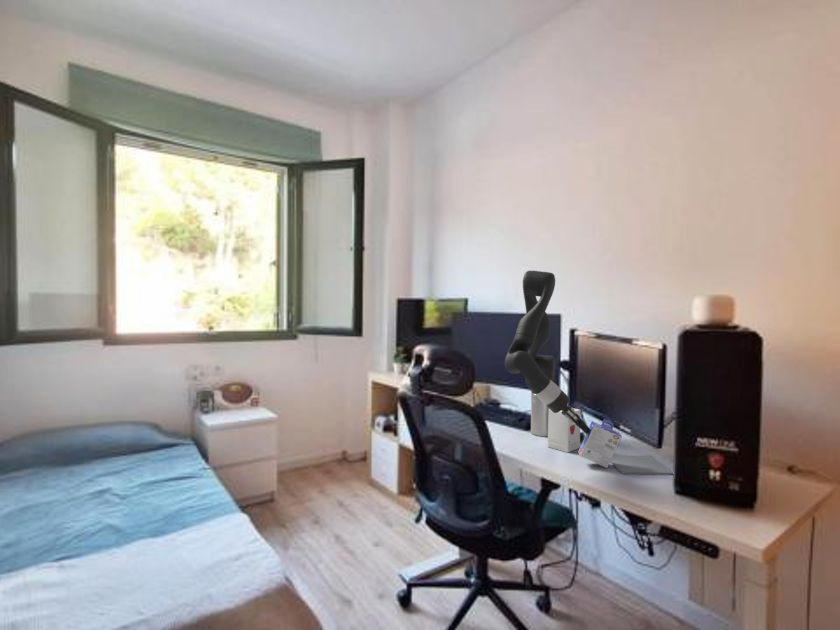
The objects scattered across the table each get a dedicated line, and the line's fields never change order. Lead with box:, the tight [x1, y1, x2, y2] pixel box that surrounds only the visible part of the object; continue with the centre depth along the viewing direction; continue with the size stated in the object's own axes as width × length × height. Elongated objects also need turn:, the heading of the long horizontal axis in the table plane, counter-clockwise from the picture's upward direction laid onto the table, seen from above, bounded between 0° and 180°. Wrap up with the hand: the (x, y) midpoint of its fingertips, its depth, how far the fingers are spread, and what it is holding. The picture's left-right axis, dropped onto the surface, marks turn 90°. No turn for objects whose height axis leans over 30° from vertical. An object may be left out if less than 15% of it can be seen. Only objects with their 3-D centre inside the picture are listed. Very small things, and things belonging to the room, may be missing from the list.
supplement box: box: [547, 407, 582, 453], centre depth 175 cm, size 9×9×15 cm
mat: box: [609, 454, 674, 475], centre depth 157 cm, size 16×17×1 cm
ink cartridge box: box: [577, 418, 623, 469], centre depth 156 cm, size 10×6×14 cm, turn 80°
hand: (588, 431), depth 156 cm, fingers closed
